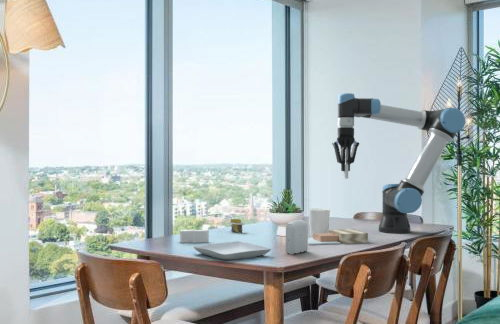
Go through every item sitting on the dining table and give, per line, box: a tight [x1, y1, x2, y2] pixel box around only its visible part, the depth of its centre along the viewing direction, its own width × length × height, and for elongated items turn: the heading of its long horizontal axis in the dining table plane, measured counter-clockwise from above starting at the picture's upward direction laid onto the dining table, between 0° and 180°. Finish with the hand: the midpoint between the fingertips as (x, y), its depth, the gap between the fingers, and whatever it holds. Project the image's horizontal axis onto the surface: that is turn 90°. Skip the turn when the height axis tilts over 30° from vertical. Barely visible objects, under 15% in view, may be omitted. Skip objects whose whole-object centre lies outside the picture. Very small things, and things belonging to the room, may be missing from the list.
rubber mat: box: [308, 237, 341, 246], centre depth 242 cm, size 14×16×1 cm
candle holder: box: [308, 208, 331, 237], centre depth 261 cm, size 10×10×12 cm
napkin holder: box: [179, 228, 210, 244], centre depth 239 cm, size 15×11×6 cm
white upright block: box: [285, 219, 309, 255], centre depth 214 cm, size 10×4×12 cm, turn 140°
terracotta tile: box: [312, 233, 338, 242], centre depth 243 cm, size 8×8×2 cm
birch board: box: [328, 228, 369, 245], centre depth 245 cm, size 12×14×4 cm
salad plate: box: [193, 240, 272, 261], centre depth 207 cm, size 21×21×3 cm
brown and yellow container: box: [228, 218, 245, 234], centre depth 271 cm, size 12×18×7 cm, turn 40°
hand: (345, 178), depth 262 cm, fingers closed
